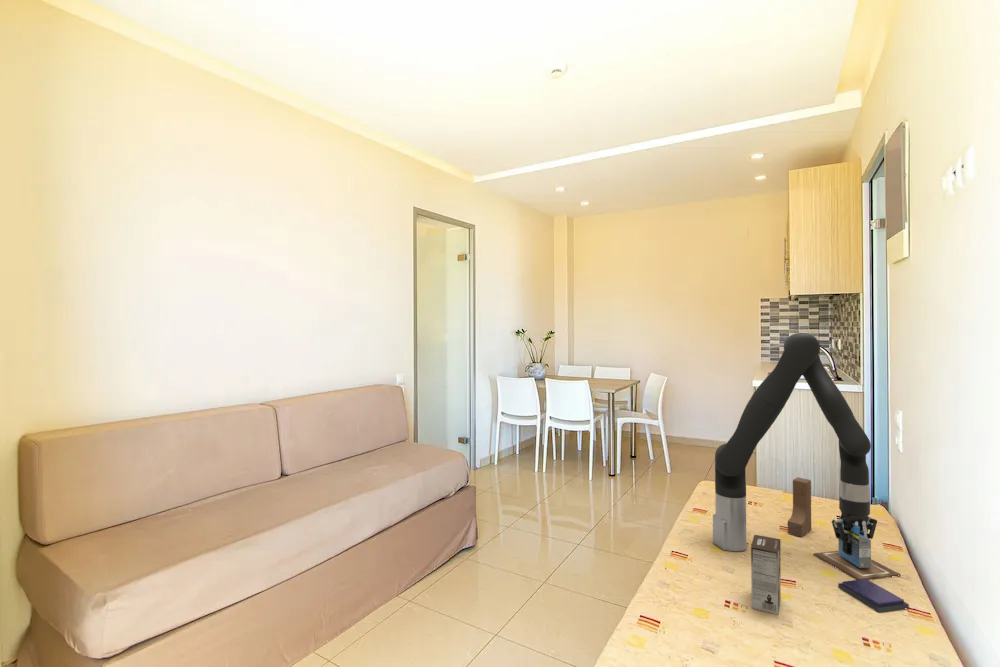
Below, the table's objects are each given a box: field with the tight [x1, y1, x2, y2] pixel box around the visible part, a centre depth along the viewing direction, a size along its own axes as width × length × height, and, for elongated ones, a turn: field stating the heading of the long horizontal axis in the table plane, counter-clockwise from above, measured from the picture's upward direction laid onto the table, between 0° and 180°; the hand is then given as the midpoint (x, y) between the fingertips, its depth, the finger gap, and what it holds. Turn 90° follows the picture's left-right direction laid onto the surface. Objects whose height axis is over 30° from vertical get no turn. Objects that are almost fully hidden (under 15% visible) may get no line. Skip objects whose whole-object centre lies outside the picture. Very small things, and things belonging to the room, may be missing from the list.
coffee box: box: [750, 534, 782, 616], centre depth 128 cm, size 9×6×16 cm
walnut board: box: [813, 550, 901, 581], centre depth 147 cm, size 14×16×1 cm
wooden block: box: [787, 476, 812, 538], centre depth 171 cm, size 9×4×18 cm, turn 128°
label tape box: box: [838, 515, 872, 568], centre depth 147 cm, size 9×4×12 cm, turn 1°
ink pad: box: [837, 579, 910, 614], centre depth 130 cm, size 9×12×2 cm
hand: (854, 552), depth 147 cm, fingers closed on label tape box, 4 cm apart
